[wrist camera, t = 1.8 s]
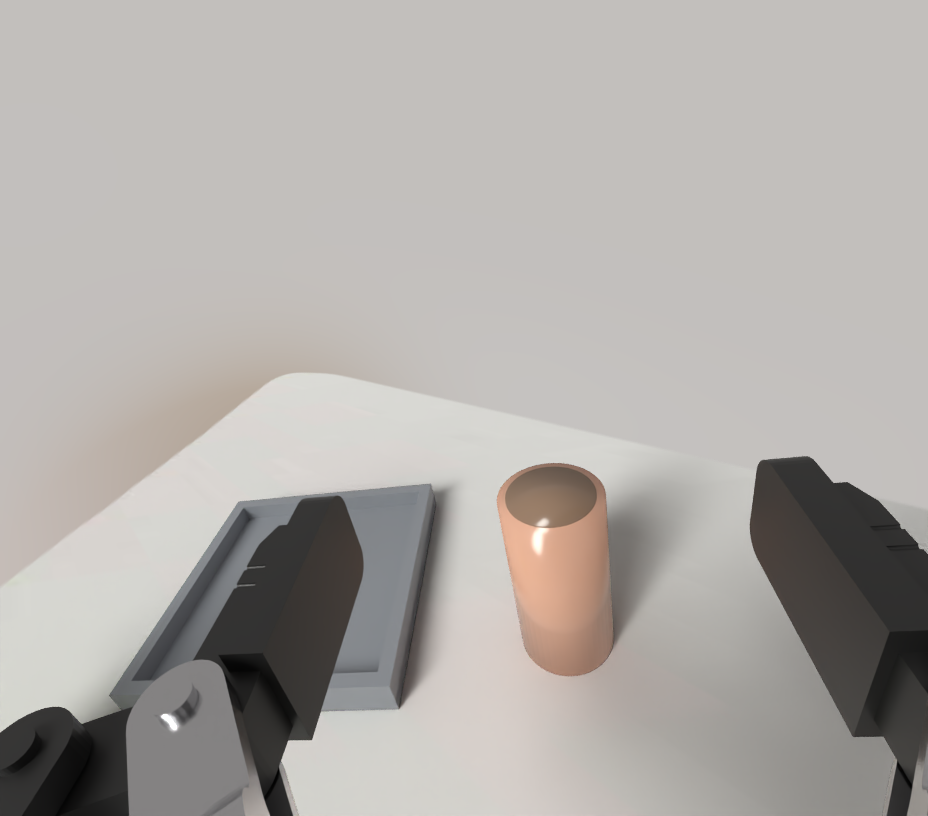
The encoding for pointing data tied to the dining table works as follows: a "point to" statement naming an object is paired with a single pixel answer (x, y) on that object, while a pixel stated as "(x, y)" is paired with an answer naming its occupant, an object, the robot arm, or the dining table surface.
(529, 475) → the cup
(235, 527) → the tray
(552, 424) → the dining table surface
